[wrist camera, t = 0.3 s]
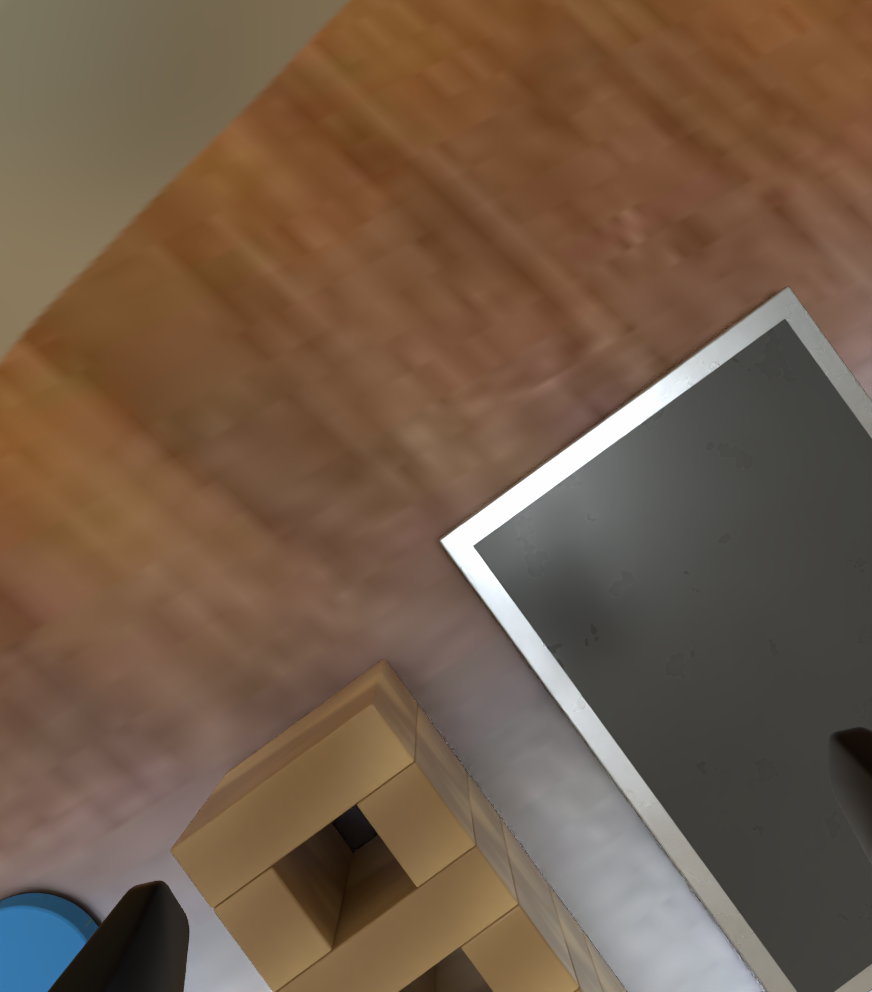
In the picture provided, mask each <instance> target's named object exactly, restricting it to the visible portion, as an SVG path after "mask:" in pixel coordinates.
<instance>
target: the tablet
mask: <svg viewBox="0 0 872 992" xmlns="http://www.w3.org/2000/svg"><path fill="white" fill-rule="evenodd" d="M439 542H440V544H441V545H442V546H443V548H444V549H445V550H446V552H447V553H448V555H449V556H450V557H451V559H452V560H453V561H454V563H455V564H456V566H457V567H458V568H459V570H460V571H461V572H462V574H463V575H464V577H465V578H466V579H467V581H468V582H469V583H470V585H471V586H472V588H473V589H474V590H475V592H476V593H477V594H478V596H479V597H480V599H481V600H482V601H483V603H484V604H485V605H486V607H487V608H488V610H489V611H490V612H491V614H492V615H493V616H494V618H495V619H496V621H497V622H498V623H499V625H500V626H501V627H502V629H503V630H504V632H505V633H506V634H507V636H508V637H509V638H510V640H511V641H512V643H513V644H514V645H515V647H516V648H517V649H518V651H519V652H520V654H521V655H522V656H523V658H524V659H525V660H526V662H527V663H528V665H529V666H530V667H531V669H532V670H533V671H534V673H535V674H536V676H537V677H538V678H539V680H540V681H541V682H542V684H543V685H544V687H545V688H546V689H547V691H548V692H549V693H550V695H551V696H552V698H553V699H554V700H555V702H556V703H557V704H558V706H559V707H560V709H561V710H562V711H563V713H564V714H565V715H566V717H567V718H568V720H569V721H570V722H571V724H572V725H573V726H574V728H575V729H576V731H577V732H578V733H579V735H580V736H581V737H582V739H583V740H584V742H585V743H586V744H587V746H588V747H589V748H590V750H591V751H592V753H593V754H594V755H595V757H596V758H597V759H598V761H599V762H600V764H601V765H602V766H603V768H604V769H605V770H606V772H607V773H608V775H609V776H610V777H611V779H612V780H613V781H614V783H615V784H616V786H617V787H618V788H619V790H620V791H621V792H622V794H623V795H624V797H625V798H626V799H627V801H628V802H629V803H630V805H631V806H632V807H633V809H634V810H635V812H636V813H637V814H638V816H639V817H640V818H641V820H642V821H643V823H644V824H645V825H646V827H647V828H648V829H649V831H650V832H651V834H652V835H653V836H654V838H655V839H656V840H657V842H658V843H659V845H660V846H661V847H662V849H663V850H664V851H665V853H666V854H667V856H668V857H669V858H670V860H671V861H672V862H673V864H674V865H675V867H676V868H677V869H678V871H679V872H680V873H681V875H682V876H683V878H684V879H685V880H686V882H687V883H688V884H689V886H690V887H691V889H692V890H693V891H694V893H695V894H696V895H697V897H698V898H699V900H700V901H701V902H702V904H703V905H704V906H705V908H706V909H707V911H708V912H709V913H710V915H711V916H712V917H713V919H714V920H715V922H716V923H717V924H718V926H719V927H720V928H721V930H722V931H723V933H724V934H725V935H726V937H727V938H728V939H729V941H730V942H731V944H732V945H733V946H734V948H735V949H736V950H737V952H738V953H739V955H740V956H741V957H742V959H743V960H744V961H745V963H746V964H747V966H748V967H749V968H750V970H751V971H752V972H753V974H754V975H755V977H756V978H757V979H758V981H759V982H760V983H761V985H762V986H763V988H764V989H765V990H766V992H870V991H871V990H872V865H871V863H870V861H869V859H868V857H867V855H866V854H865V852H864V850H863V848H862V846H861V844H860V843H859V841H858V839H857V837H856V835H855V833H854V831H853V830H852V828H851V826H850V824H849V822H848V820H847V819H846V817H845V815H844V813H843V811H842V809H841V808H840V806H839V804H838V802H837V800H836V798H835V796H834V794H833V792H832V789H831V786H830V783H829V777H828V757H829V737H830V736H831V734H832V733H834V732H837V731H841V730H846V729H850V728H855V727H864V728H867V729H869V730H871V731H872V400H871V399H870V398H869V396H868V395H867V394H866V392H865V391H864V389H863V388H862V387H861V385H860V384H859V382H858V381H857V380H856V378H855V377H854V376H853V374H852V373H851V371H850V370H849V369H848V367H847V366H846V364H845V363H844V362H843V360H842V359H841V358H840V356H839V355H838V353H837V352H836V351H835V349H834V348H833V346H832V345H831V344H830V342H829V341H828V340H827V338H826V337H825V335H824V334H823V333H822V331H821V330H820V328H819V327H818V326H817V324H816V323H815V322H814V320H813V319H812V317H811V316H810V315H809V313H808V312H807V310H806V309H805V308H804V306H803V305H802V304H801V302H800V301H799V299H798V298H797V297H796V295H795V294H794V292H793V291H792V290H791V288H790V287H789V286H787V287H785V288H783V289H782V290H780V291H778V292H776V293H775V294H774V295H772V296H771V297H769V298H768V299H767V300H765V301H764V302H763V303H761V304H760V305H758V306H757V307H756V308H754V309H753V310H752V311H750V312H749V313H747V314H746V315H745V316H743V317H742V318H741V319H739V320H738V321H736V322H735V323H734V324H732V325H731V326H730V327H728V328H727V329H726V330H724V331H723V332H721V333H720V334H719V335H717V336H716V337H715V338H713V339H712V340H710V341H709V342H708V343H706V344H705V345H704V346H702V347H701V348H699V349H698V350H697V351H695V352H694V353H693V354H691V355H690V356H688V357H687V358H686V359H684V360H683V361H682V362H680V363H679V364H677V365H676V366H675V367H673V368H672V369H671V370H669V371H668V372H666V373H665V374H664V375H662V376H661V377H660V378H658V379H657V380H655V381H654V382H653V383H651V384H650V385H649V386H647V387H646V388H644V389H643V390H642V391H640V392H639V393H638V394H636V395H635V396H633V397H632V398H631V399H629V400H628V401H627V402H625V403H624V404H622V405H621V406H620V407H618V408H617V409H616V410H614V411H613V412H611V413H610V414H609V415H607V416H606V417H605V418H603V419H602V420H600V421H599V422H598V423H596V424H595V425H594V426H592V427H591V428H589V429H588V430H587V431H585V432H584V433H583V434H581V435H580V436H579V437H577V438H576V439H574V440H573V441H572V442H570V443H569V444H568V445H566V446H565V447H563V448H562V449H561V450H559V451H558V452H557V453H555V454H554V455H552V456H551V457H550V458H548V459H547V460H546V461H544V462H543V463H541V464H540V465H539V466H537V467H536V468H535V469H533V470H532V471H530V472H529V473H528V474H526V475H525V476H524V477H522V478H521V479H519V480H518V481H517V482H515V483H514V484H513V485H511V486H510V487H508V488H507V489H506V490H504V491H503V492H502V493H500V494H499V495H497V496H496V497H495V498H493V499H492V500H491V501H489V502H488V503H486V504H485V505H484V506H482V507H481V508H480V509H478V510H477V511H475V512H474V513H473V514H471V515H470V516H469V517H467V518H466V519H464V520H463V521H462V522H460V523H459V524H458V525H456V526H455V527H453V528H452V529H451V530H449V531H448V532H447V533H445V534H444V535H442V536H441V537H440V538H439Z"/></svg>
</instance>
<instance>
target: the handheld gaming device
mask: <svg viewBox="0 0 872 992" xmlns="http://www.w3.org/2000/svg"><path fill="white" fill-rule="evenodd" d="M97 929H98V926H97V925H96V924H95V922H94V921H93V920H92V918H91V917H90V916H89V915H88V914H87V913H85V912H84V911H83V910H82V909H81V908H79V907H78V906H76V905H75V904H73V903H72V902H70V901H68V900H65V899H63V898H61V897H57V896H54V895H50V894H43V893H26V894H20V895H15V896H12V897H9V898H6V899H4V900H2V901H0V992H47V991H48V990H49V989H50V988H51V986H52V985H53V984H54V983H55V981H56V980H57V979H58V978H59V976H60V975H61V974H62V973H63V971H64V970H65V969H66V968H67V966H68V965H69V964H70V963H71V961H72V960H73V959H74V958H75V956H76V955H77V954H78V953H79V951H80V950H81V949H82V948H83V946H84V945H85V944H86V943H87V941H88V940H89V939H90V938H91V936H92V935H93V934H94V933H95V931H96V930H97Z"/></svg>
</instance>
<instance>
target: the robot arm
mask: <svg viewBox="0 0 872 992" xmlns="http://www.w3.org/2000/svg"><path fill="white" fill-rule="evenodd" d="M828 777H829V783H830V786H831V789H832V792H833V794H834V796H835V798H836V800H837V802H838V804H839V806H840V808H841V809H842V811H843V813H844V815H845V817H846V819H847V820H848V822H849V824H850V826H851V828H852V830H853V831H854V833H855V835H856V837H857V839H858V841H859V843H860V844H861V846H862V848H863V850H864V852H865V854H866V855H867V857H868V859H869V861H870V863H871V865H872V731H871V730H869V729H867V728H864V727H855V728H850V729H846V730H841V731H837V732H834V733H832V734H831V736H830V737H829V757H828ZM188 943H189V923H188V919H187V916H186V914H185V912H184V911H183V909H182V908H181V906H180V904H179V903H178V901H177V900H176V898H175V896H174V895H173V893H172V892H171V890H170V888H169V887H168V885H167V884H166V883H165V882H163V881H153V882H149V883H144V884H140V885H136V886H134V887H132V888H131V889H130V890H129V891H128V892H127V893H126V894H125V895H124V896H123V897H122V899H121V900H120V901H119V902H118V904H117V905H116V906H115V907H114V909H113V910H112V911H111V912H110V914H109V915H108V916H107V918H106V919H105V920H104V921H103V923H102V924H101V925H100V926H99V928H98V929H97V930H96V931H95V933H94V934H93V935H92V936H91V938H90V939H89V940H88V941H87V943H86V944H85V945H84V946H83V948H82V949H81V950H80V951H79V953H78V954H77V955H76V956H75V958H74V959H73V960H72V961H71V963H70V964H69V965H68V966H67V968H66V969H65V970H64V971H63V973H62V974H61V975H60V976H59V978H58V979H57V980H56V981H55V983H54V984H53V985H52V986H51V988H50V989H49V990H48V991H47V992H183V991H184V981H185V972H186V962H187V952H188Z"/></svg>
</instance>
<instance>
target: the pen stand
mask: <svg viewBox="0 0 872 992" xmlns="http://www.w3.org/2000/svg"><path fill="white" fill-rule="evenodd" d="M355 804H357V806H358V807H359V809H360V810H361V811H362V813H363V814H364V816H365V817H366V818H367V820H368V821H369V822H370V824H371V825H372V827H373V828H374V829H375V831H376V832H377V833H378V835H377V836H376V837H374V838H373V839H372V840H370V841H369V842H368V843H366V844H365V845H363V846H362V847H361V848H359V849H358V850H357V851H355V852H354V853H353V852H352V850H351V849H350V847H349V846H348V845H347V843H346V842H345V840H344V839H343V838H342V836H341V835H340V834H339V832H338V831H337V829H336V828H335V827H334V825H333V824H332V823H331V822H332V821H334V820H335V819H336V818H338V817H339V816H340V815H342V814H343V813H345V812H346V811H347V810H349V809H350V808H351V807H353V806H354V805H355ZM171 853H172V855H173V856H174V857H175V859H176V860H177V861H178V863H179V864H180V866H181V867H182V868H183V870H184V871H185V872H186V874H187V875H188V876H189V878H190V879H191V881H192V882H193V883H194V885H195V886H196V887H197V889H198V890H199V892H200V893H201V894H202V896H203V897H204V898H205V900H206V901H207V902H208V904H209V905H210V907H211V908H214V907H215V908H214V912H215V913H216V915H217V916H218V917H219V919H220V920H221V921H222V923H223V924H224V926H225V927H226V928H227V930H228V931H229V932H230V934H231V935H232V937H233V938H234V939H235V941H236V942H237V943H238V945H239V946H240V947H241V949H242V950H243V952H244V953H245V954H246V956H247V957H248V958H249V960H250V961H251V962H252V964H253V965H254V967H255V968H256V969H257V971H258V972H259V973H260V975H261V976H262V977H263V979H264V980H265V982H266V983H267V984H268V986H269V987H270V988H271V990H272V991H273V992H627V991H626V989H625V988H624V987H623V985H622V984H621V982H620V981H619V980H618V978H617V977H616V976H615V974H614V973H613V971H612V970H611V969H610V967H609V966H608V965H607V963H606V962H605V961H604V959H603V958H602V956H601V955H600V954H599V952H598V951H597V950H596V948H595V947H594V945H593V944H592V943H591V941H590V940H589V939H588V937H587V936H586V934H585V933H584V932H583V931H582V930H581V928H580V926H579V925H578V923H577V922H576V921H575V919H574V918H573V917H572V915H571V914H570V912H569V911H568V910H567V908H566V907H565V906H564V904H563V903H562V901H561V900H560V899H559V897H558V896H557V895H556V893H555V892H554V890H553V889H552V888H551V886H550V885H549V884H548V883H547V881H546V879H545V878H544V877H543V875H542V874H541V873H540V871H539V870H538V868H537V867H536V866H535V864H534V863H533V862H532V860H531V859H530V857H529V856H528V855H527V853H526V852H525V851H524V849H523V848H522V846H521V845H520V844H519V842H518V841H517V840H516V838H515V837H514V835H513V834H512V833H511V831H510V830H509V829H508V827H507V826H506V824H505V823H504V822H503V820H502V819H501V818H500V817H499V815H498V814H497V812H496V811H495V809H494V808H493V807H492V805H491V804H490V803H489V801H488V800H487V798H486V797H485V796H484V794H483V793H482V792H481V790H480V789H479V787H478V786H477V785H476V783H475V782H474V781H473V779H472V778H471V776H470V775H469V774H468V772H466V771H465V768H464V767H463V765H462V764H461V763H460V761H459V760H458V759H457V757H456V756H455V754H454V753H453V752H452V750H451V749H450V748H449V746H448V745H447V743H446V742H445V741H444V739H443V738H442V737H441V735H440V734H439V732H438V731H437V730H436V728H435V727H434V726H433V724H432V723H431V721H430V720H429V719H428V717H427V716H426V715H425V713H424V712H423V711H422V709H421V708H420V706H418V705H417V702H416V701H415V700H414V698H413V697H412V696H411V694H410V693H409V691H408V690H407V689H406V687H405V686H404V685H403V683H402V682H401V680H400V679H399V678H398V676H397V675H396V674H395V672H394V671H393V669H392V668H391V667H390V665H389V664H388V663H387V661H386V660H385V659H383V660H381V661H380V662H378V663H377V664H376V665H374V666H373V667H372V668H370V669H369V670H367V671H366V672H365V673H363V674H362V675H361V676H359V677H358V678H357V679H355V680H354V681H352V682H351V683H350V684H348V685H347V686H346V687H344V688H343V689H341V690H340V691H339V692H337V693H336V694H335V695H333V696H332V697H330V698H329V699H328V700H326V701H325V702H324V703H322V704H321V705H319V706H318V707H317V708H315V709H314V710H313V711H311V712H310V713H309V714H307V715H306V716H304V717H303V718H302V719H300V720H299V721H298V722H296V723H295V724H293V725H292V726H291V727H289V728H288V729H287V730H285V731H284V732H282V733H281V734H280V735H278V736H277V737H276V738H274V739H273V740H271V741H270V742H269V743H267V744H266V745H265V746H263V747H262V748H261V749H259V750H258V751H256V752H255V753H254V754H252V755H251V756H250V757H248V758H247V759H245V760H244V761H243V762H241V763H240V764H239V765H237V766H236V767H234V768H233V769H232V770H230V771H229V772H228V773H226V775H225V776H224V777H223V779H222V780H221V782H220V783H219V784H218V786H217V787H216V788H215V790H214V791H213V793H212V794H211V795H210V797H209V798H208V799H207V801H206V802H205V803H204V805H203V806H202V808H201V809H200V810H199V812H198V813H197V814H196V816H195V817H194V819H193V820H192V821H191V823H190V824H189V825H188V827H187V828H186V829H185V831H184V832H183V834H182V835H181V836H180V838H179V839H178V840H177V842H176V843H175V845H174V846H173V847H172V849H171ZM352 853H353V854H352Z"/></svg>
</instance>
